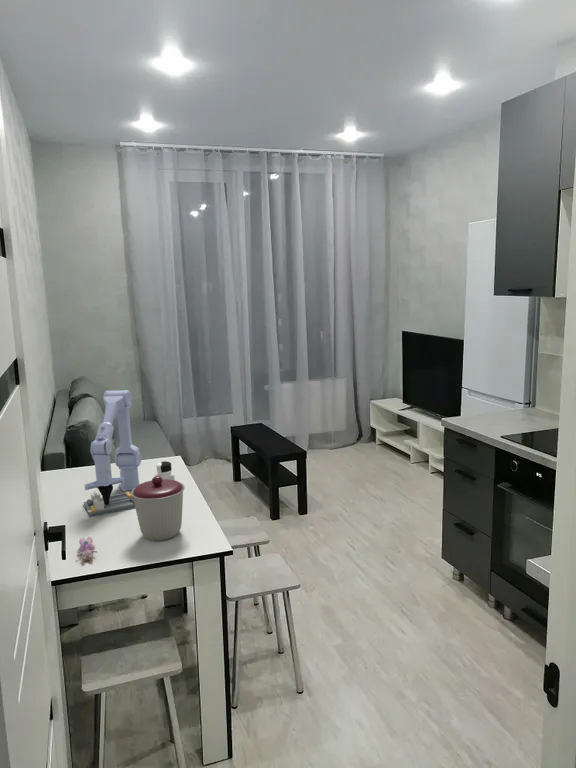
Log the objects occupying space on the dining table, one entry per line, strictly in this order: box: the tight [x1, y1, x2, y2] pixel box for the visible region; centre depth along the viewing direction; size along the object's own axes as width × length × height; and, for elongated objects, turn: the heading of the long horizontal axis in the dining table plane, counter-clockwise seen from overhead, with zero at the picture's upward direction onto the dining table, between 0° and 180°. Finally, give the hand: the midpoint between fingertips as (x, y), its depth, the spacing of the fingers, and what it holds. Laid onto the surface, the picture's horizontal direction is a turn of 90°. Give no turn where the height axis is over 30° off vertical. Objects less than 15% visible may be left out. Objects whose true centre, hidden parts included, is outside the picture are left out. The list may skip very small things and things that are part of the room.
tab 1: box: [90, 491, 101, 504], centre depth 233 cm, size 4×3×4 cm
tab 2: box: [94, 497, 104, 510], centre depth 226 cm, size 4×3×4 cm
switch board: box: [83, 491, 136, 518], centre depth 232 cm, size 15×20×2 cm
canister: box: [130, 475, 186, 541], centre depth 202 cm, size 18×18×21 cm
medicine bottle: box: [154, 460, 176, 481], centre depth 247 cm, size 7×7×12 cm
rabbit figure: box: [76, 536, 98, 565], centre depth 191 cm, size 6×6×15 cm
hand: (106, 503), depth 227 cm, fingers closed
